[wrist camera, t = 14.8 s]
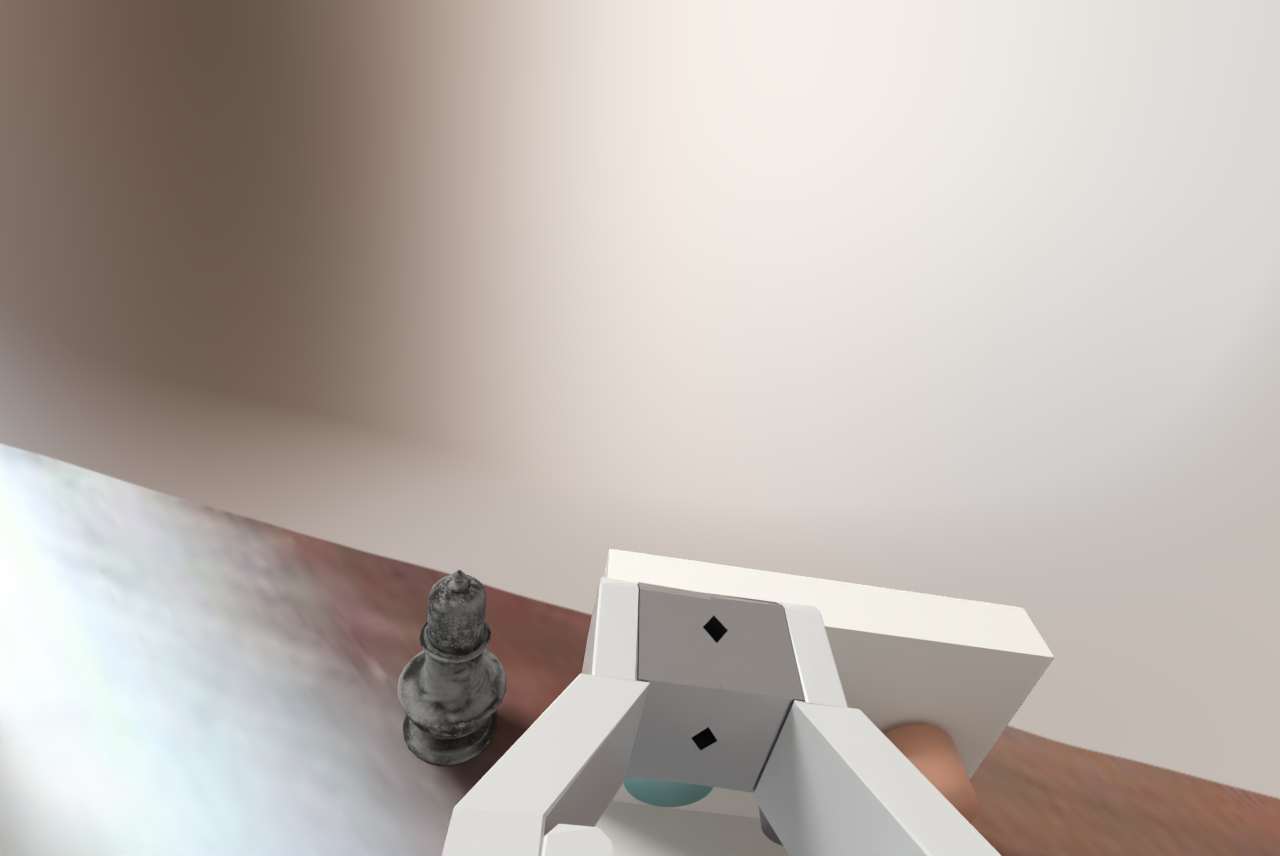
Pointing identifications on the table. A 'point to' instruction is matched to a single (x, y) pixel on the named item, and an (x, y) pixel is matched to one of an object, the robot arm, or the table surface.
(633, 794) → the teal button
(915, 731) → the terracotta button
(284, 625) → the table surface
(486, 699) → the grey stone chess piece
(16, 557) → the table surface
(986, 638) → the console
